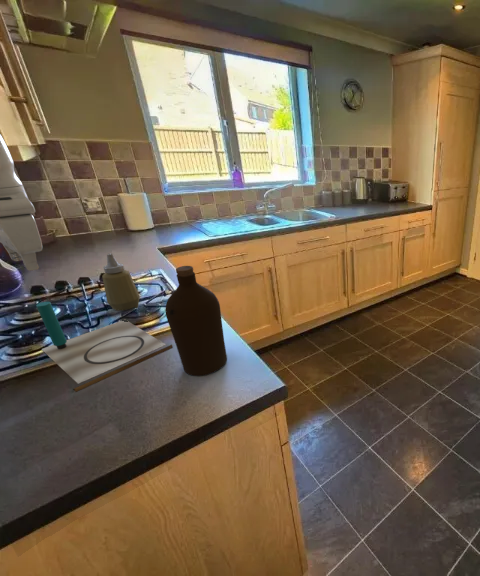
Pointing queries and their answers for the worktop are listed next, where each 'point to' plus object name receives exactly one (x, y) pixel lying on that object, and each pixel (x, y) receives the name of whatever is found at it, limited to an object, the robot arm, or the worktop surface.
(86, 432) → the worktop surface
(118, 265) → the squeeze bottle
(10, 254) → the robot arm
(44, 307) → the marker
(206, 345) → the olive oil
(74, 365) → the drawing board
